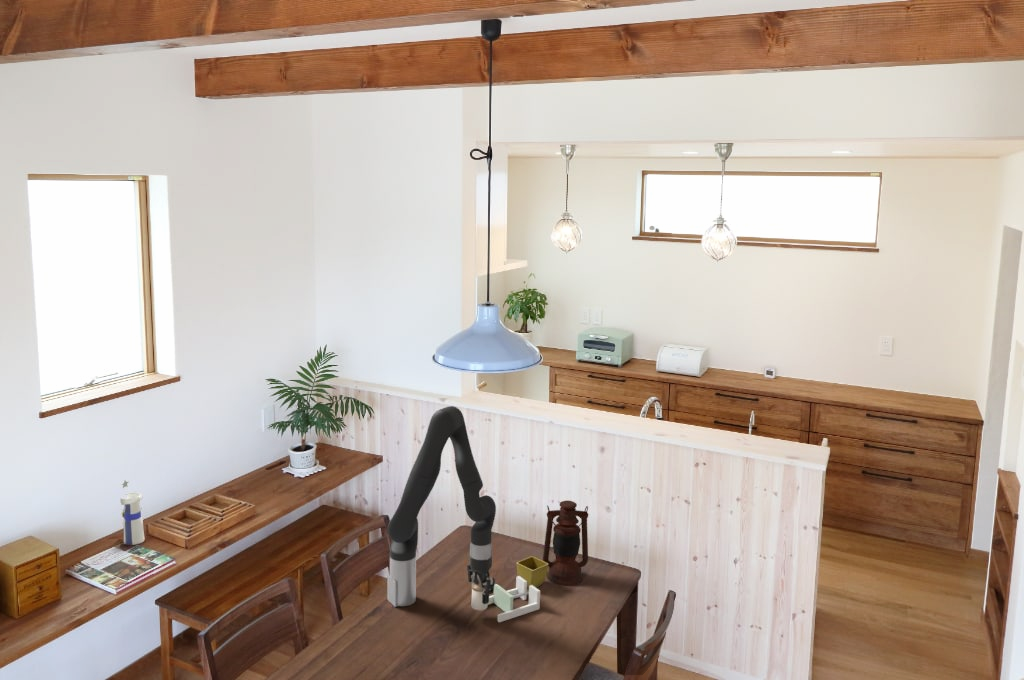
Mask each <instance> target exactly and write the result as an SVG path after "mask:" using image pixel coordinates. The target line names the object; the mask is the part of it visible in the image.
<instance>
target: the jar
mask: <svg viewBox="0 0 1024 680" xmlns="http://www.w3.org/2000/svg"><path fill="white" fill-rule="evenodd" d="M484 584H486V583H483V585H484ZM485 590H486V587H485ZM482 594H483V592H482V588H480V585H479V582H478V581H477V582H475V583H473V584H472V585H471V603H470V604H471V605H470V607H471V608H472V609H473V610H475V611H484V610H486V609H488V603H487V604H483V603H482Z"/></svg>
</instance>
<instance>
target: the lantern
mask: <svg viewBox="0 0 1024 680" xmlns="http://www.w3.org/2000/svg"><path fill="white" fill-rule="evenodd" d="M577 505H578V504H577V503H576V502H575V501H572V500H562V501H560V502H559V509H556V510H554V509H553V510H550V508H549V507H550V506H549V505H547V506H546V507H547V513H546V516H547V519H546V522H547V523H546V530H545V536H544V546H543V553H542V561H544V562H546V563H548V564H549V565H548V570H547V575H546V578H547V580H548V581H550V582H551V583H553V584H555V585H559V586H565V587H566V586H569V587H570V586H575V585H578V584H579V583H581V582H583V579H584V576H583V573H582V568H584V567H585V566H586V565H588V562H589V547H588V546H589V544H588V542H589V541H588V540H589V539H588V536H589V535H588V518H589V513H588V510H589V506H588V505H586V506H585V508H584V510H577V509H576V508H577ZM577 517H579V518H580V519H581V522H580V524H579V519H578V518H577ZM555 518H556V519H555ZM554 519H555V521H556V523H555V522H554ZM552 532H553V533H554V534H553V533H552ZM552 534H553V538H552ZM580 534H581V535H580ZM551 539H552V540H551ZM551 542H552V548H553V554H554V557H555V559H553V560H552V561H550V559H549V557H550V549H551ZM580 547H581V551H582V554H581V555H582V556H581V557H582V559H581V561H580V562H579V561H577V556H578V555H579V552H580Z"/></svg>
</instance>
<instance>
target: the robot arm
mask: <svg viewBox="0 0 1024 680" xmlns="http://www.w3.org/2000/svg"><path fill="white" fill-rule="evenodd" d="M449 439H450V441H451V444H452V446H453V447H452V449H453V452H454V461H455V462H454V463H455V470H456V474H457V477H458V481H459V483H460V486H461V489H462V492H463V499H464V501H463V502H464V507H465V511H466V515H467V516H468V518H469V519H470V520H471V521H473V522H475V523H473V525H471V528H470V545H469V564H468V565H467V566H466V567H467V568H466V569H467V579H468V582H469V583H470V585H471V586H472V584H473V583H475V582H477V581H478V582H479V585H480V588H482V592H483V594H482V603H483V604H487V603H488V602H489V596H490V595H493V594H494V585H495V584H496V582H495V581H496V579H495V578H494V577H491V576H490V570H491V568H492V567H493V563H492V562H493V546H492V529H493V525H494V522H495V519H496V514H497V513H496V512H497V505H496V503H495V500H494V499H493V497H491V496H490V495H482V496H481V495H480V491H481V490H482V489H483V487H484V483H483V480H482V477H481V474H480V473H479V472H480V471H479V469H478V467H477V464H476V461H475V458H474V456H473V452H472V447H471V445H470V444H471V443H470V440H469V436H468V431H467V426H466V422H465V418H464V414H463V412H462V411H461V410H460V409H459V408H458V407H457V406H453V405H451V406H449V405H448V406H446V407H443V408H440V409H437V410H436V411H435V412H434V413H432V416H431V418H430V421H429V425H428V427H427V430H426V434H425V438H424V440H423V443H422V445H421V447H420V450H419V452H418V454H417V457H416V459H415V461H414V462H413V465H412V468H411V470H410V473H409V474H408V475H409V476H408V477H407V481H406V483H405V486H404V489H403V492H402V496H401V499H400V502H399V504H398V506H397V509H396V510H395V512H394V514H393V516H392V517H391V519H390V520H389V522H388V525H387V533H388V536H389V538H390V540H391V543H390V544H391V545H390V547H389V574H388V575H387V581H386V582H387V589H386V590H387V592H386V594H387V601H388V603H390V604H391V605H392V606H393V607H394V608H396V607H409V606H411V605H413V604H414V603H415V602H416V600H417V598H416V596H417V591H416V589H417V584H416V583H417V548H418V544H419V543H418V542H419V541H418V540H419V520H418V516H419V513H420V511H421V509H422V507H423V506H424V504H425V502H426V500H428V497H429V496H430V494H431V493H432V491H433V488H434V487H435V485H436V482H437V479H438V477H439V474H440V471H441V465H442V453H443V450H444V448H445V445H446V444H447V442H448V440H449ZM483 583H486V584H484V585H483ZM485 587H486V590H485Z"/></svg>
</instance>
